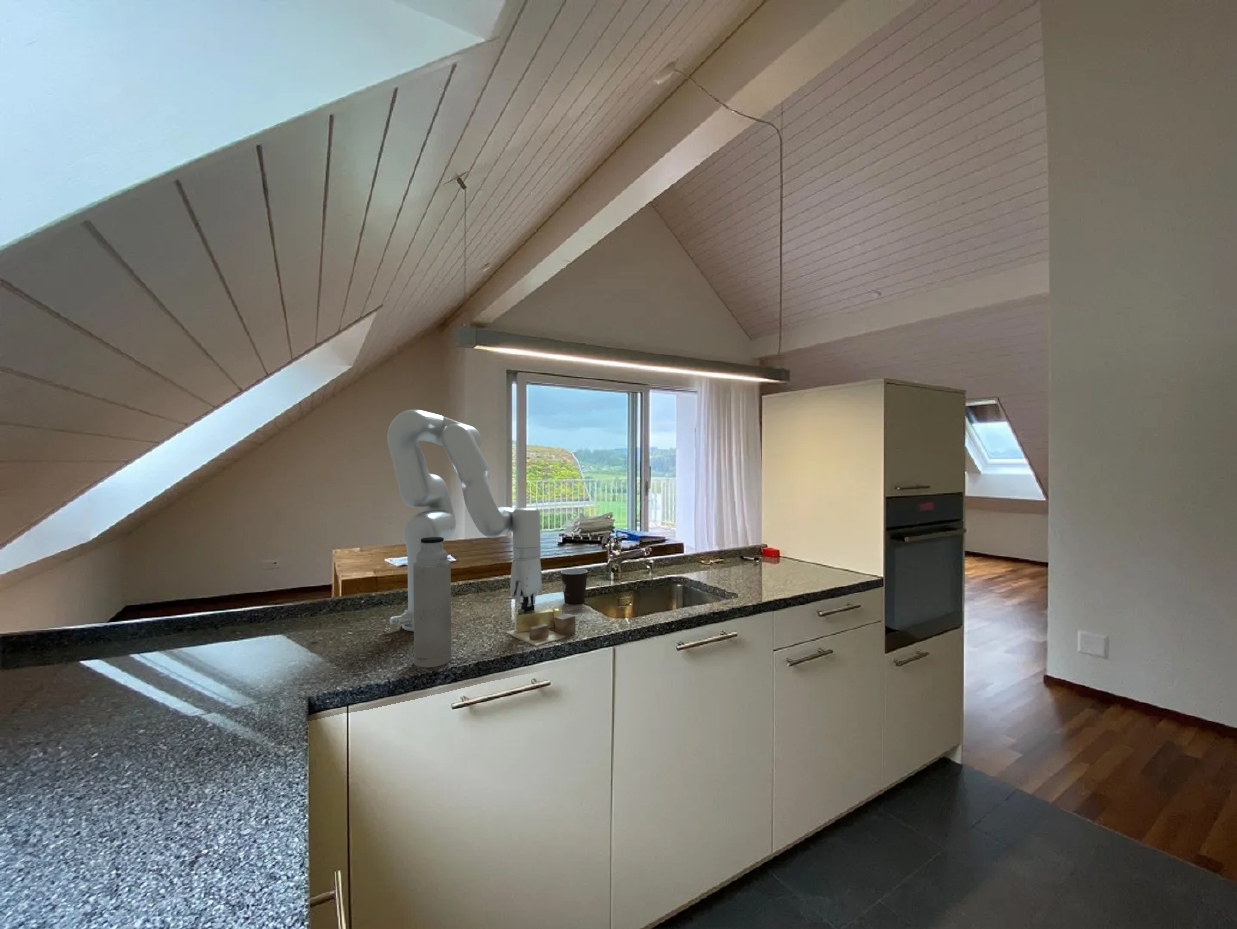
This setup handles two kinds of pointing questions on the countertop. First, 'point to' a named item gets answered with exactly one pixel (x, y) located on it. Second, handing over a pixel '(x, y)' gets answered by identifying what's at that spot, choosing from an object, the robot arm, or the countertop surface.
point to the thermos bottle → (432, 604)
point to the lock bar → (535, 618)
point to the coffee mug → (574, 585)
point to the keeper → (539, 632)
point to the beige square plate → (526, 637)
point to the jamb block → (565, 624)
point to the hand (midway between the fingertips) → (528, 619)
